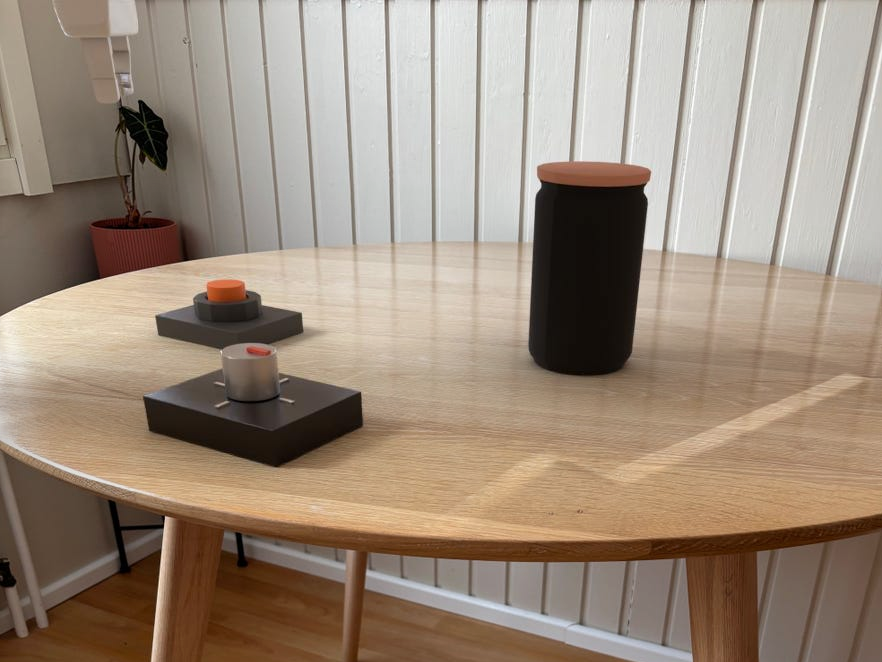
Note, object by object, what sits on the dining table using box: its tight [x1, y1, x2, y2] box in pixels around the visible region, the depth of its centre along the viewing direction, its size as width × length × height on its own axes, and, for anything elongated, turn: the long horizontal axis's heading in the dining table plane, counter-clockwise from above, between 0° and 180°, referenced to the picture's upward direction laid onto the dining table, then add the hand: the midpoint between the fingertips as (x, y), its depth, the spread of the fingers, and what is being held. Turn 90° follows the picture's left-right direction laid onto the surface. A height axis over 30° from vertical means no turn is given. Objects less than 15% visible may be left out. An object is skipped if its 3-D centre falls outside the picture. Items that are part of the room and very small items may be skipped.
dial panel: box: [142, 367, 364, 468], centre depth 78 cm, size 14×11×3 cm
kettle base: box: [154, 289, 304, 351], centre depth 102 cm, size 12×10×4 cm
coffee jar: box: [527, 160, 652, 376], centre depth 92 cm, size 11×11×18 cm
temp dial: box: [220, 343, 280, 401], centre depth 76 cm, size 4×4×4 cm
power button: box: [205, 278, 246, 302], centre depth 100 cm, size 4×4×2 cm
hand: (116, 99), depth 82 cm, fingers open, 8 cm apart
